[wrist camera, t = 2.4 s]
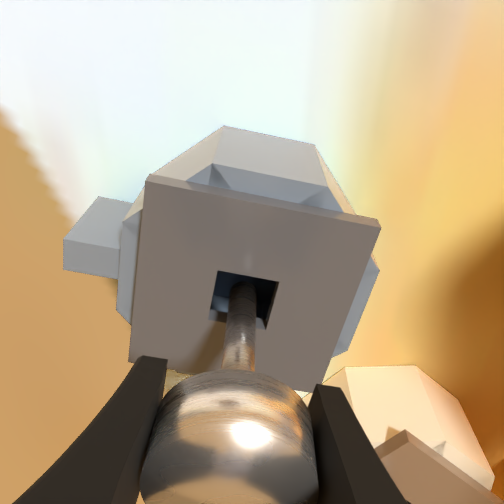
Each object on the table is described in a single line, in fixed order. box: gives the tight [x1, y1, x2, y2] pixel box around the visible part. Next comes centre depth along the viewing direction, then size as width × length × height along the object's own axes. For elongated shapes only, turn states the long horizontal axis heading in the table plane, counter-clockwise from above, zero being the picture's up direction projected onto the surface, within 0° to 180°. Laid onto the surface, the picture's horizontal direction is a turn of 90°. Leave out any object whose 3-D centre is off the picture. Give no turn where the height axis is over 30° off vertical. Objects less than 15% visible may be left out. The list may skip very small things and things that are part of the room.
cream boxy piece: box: [302, 365, 504, 504], centre depth 23 cm, size 10×8×5 cm
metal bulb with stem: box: [140, 281, 319, 504], centre depth 12 cm, size 4×4×7 cm
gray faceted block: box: [63, 126, 381, 393], centre depth 17 cm, size 10×8×5 cm
